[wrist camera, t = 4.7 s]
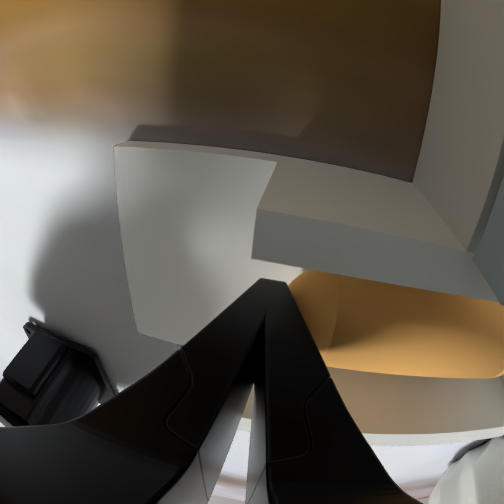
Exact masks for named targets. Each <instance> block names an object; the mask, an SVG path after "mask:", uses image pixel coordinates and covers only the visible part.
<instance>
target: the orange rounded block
mask: <svg viewBox="0 0 504 504" xmlns="http://www.w3.org/2000/svg"><path fill="white" fill-rule="evenodd" d="M288 287H289V289H290V291H291V293H292V295H293V297H294V299H295V301H296V303H297V305H298V307H299V310H300V312H301V314H302V316H303V318H304V320H305V322H306V324H307V326H308V328H309V330H310V333H311V335H312V337H313V339H314V341H315V343H316V345H317V347H318V349H319V352H320V354H321V356H322V358H323V360H324V362H325V364H326V366H327V367H334V368H341V369H349V370H357V371H366V372H375V373H384V374H395V375H407V376H421V377H439V378H471V379H490V378H496V377H499V376H501V375H503V374H504V306H502V305H501V304H500V303H499V302H494V301H489V300H483V299H477V298H471V297H465V296H459V295H453V294H447V293H442V292H436V291H430V290H424V289H418V288H413V287H407V286H401V285H395V284H390V283H384V282H378V281H373V280H367V279H361V278H356V277H350V276H344V275H339V274H333V273H328V272H322V271H317V270H311V269H310V270H307V271H305V272H304V273H302V274H300V275H299V276H297V277H296V278H295V279H294V280H293V281H292V282H291V283H290V284H289V285H288Z"/></svg>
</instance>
